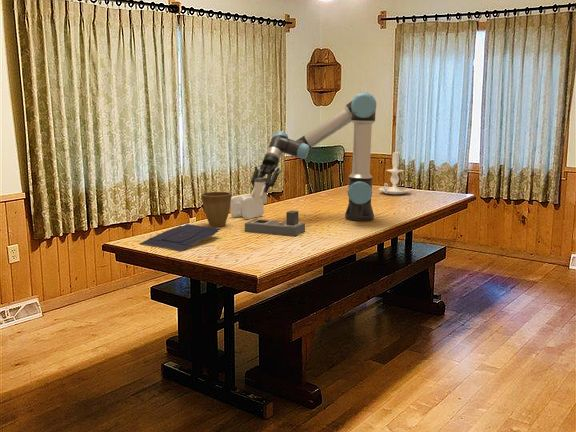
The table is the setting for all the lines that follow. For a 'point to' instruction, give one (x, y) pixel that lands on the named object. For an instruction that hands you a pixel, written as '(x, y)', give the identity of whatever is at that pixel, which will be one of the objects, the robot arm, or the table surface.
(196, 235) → the dark blue folded cloth
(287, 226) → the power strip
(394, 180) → the candlestick
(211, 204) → the plant pot
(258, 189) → the plug
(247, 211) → the white lumpy block
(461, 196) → the table surface
